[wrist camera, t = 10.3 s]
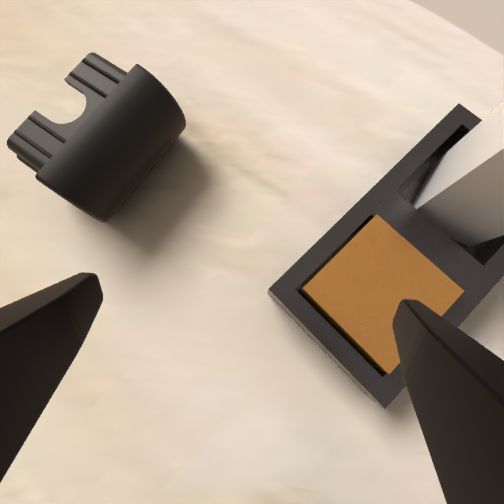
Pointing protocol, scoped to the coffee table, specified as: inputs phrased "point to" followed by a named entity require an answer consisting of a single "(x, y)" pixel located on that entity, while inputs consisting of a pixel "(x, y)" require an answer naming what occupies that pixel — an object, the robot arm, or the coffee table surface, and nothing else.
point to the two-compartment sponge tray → (388, 269)
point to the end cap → (102, 137)
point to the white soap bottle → (469, 185)
